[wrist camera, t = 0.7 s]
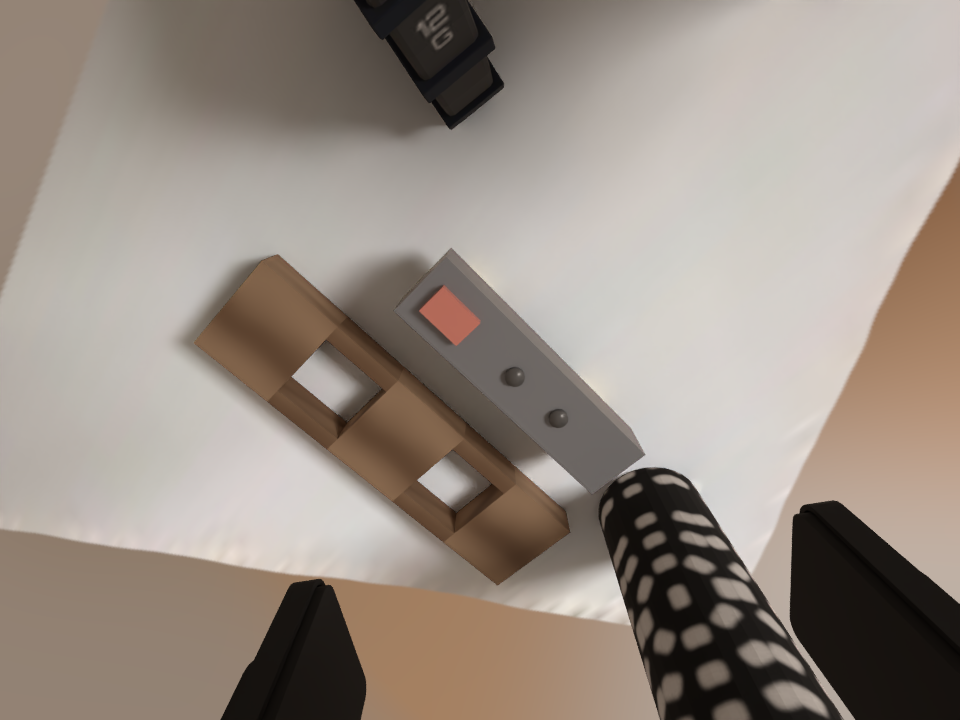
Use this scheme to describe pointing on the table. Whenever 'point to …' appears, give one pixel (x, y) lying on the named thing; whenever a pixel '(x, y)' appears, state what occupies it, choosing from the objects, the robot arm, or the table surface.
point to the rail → (380, 420)
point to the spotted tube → (701, 610)
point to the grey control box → (518, 372)
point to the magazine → (439, 51)
